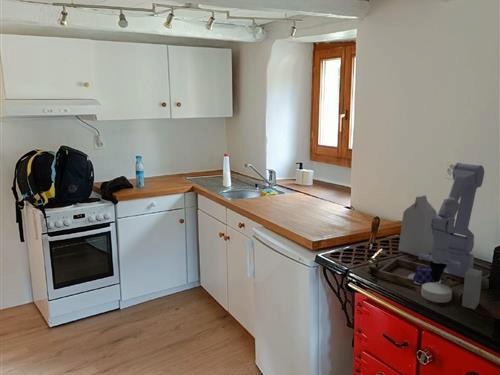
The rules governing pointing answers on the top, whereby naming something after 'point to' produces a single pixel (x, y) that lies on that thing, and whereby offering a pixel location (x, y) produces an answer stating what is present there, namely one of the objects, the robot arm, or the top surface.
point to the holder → (399, 279)
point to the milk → (417, 227)
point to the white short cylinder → (436, 292)
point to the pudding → (423, 275)
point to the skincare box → (472, 288)
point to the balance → (376, 260)
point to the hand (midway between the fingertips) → (437, 281)
